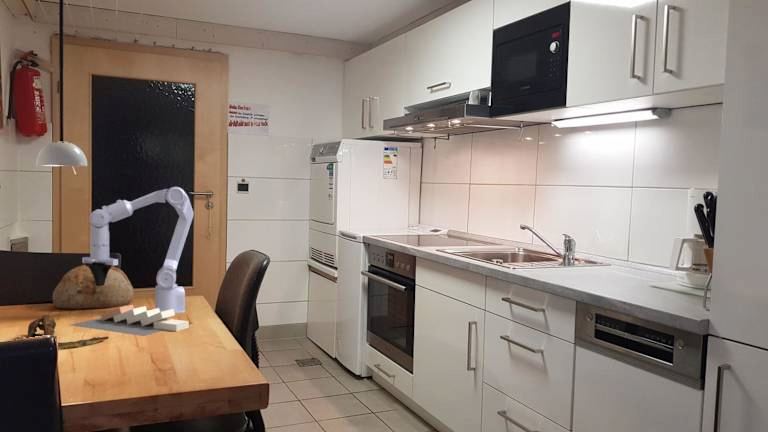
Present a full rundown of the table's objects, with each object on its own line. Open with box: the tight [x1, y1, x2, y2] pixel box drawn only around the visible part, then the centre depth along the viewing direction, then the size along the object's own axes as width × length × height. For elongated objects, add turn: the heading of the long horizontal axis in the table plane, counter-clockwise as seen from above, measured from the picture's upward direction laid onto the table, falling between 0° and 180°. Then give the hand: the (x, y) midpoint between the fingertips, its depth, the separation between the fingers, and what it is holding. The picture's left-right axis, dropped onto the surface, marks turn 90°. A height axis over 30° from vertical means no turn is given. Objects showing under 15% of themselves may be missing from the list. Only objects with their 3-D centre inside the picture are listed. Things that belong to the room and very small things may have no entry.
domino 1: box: [100, 304, 135, 321], centre depth 184 cm, size 2×5×9 cm
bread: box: [52, 264, 135, 310], centre depth 211 cm, size 26×23×15 cm
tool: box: [24, 314, 109, 351], centre depth 156 cm, size 23×6×30 cm
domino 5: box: [154, 318, 190, 332], centre depth 175 cm, size 2×5×9 cm
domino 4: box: [140, 309, 176, 326], centre depth 177 cm, size 2×5×9 cm
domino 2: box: [113, 305, 148, 323], centre depth 182 cm, size 2×5×9 cm
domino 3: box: [126, 308, 160, 324], centre depth 180 cm, size 2×5×9 cm
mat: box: [70, 317, 165, 337], centre depth 179 cm, size 31×16×1 cm, turn 66°
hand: (100, 285), depth 192 cm, fingers closed
